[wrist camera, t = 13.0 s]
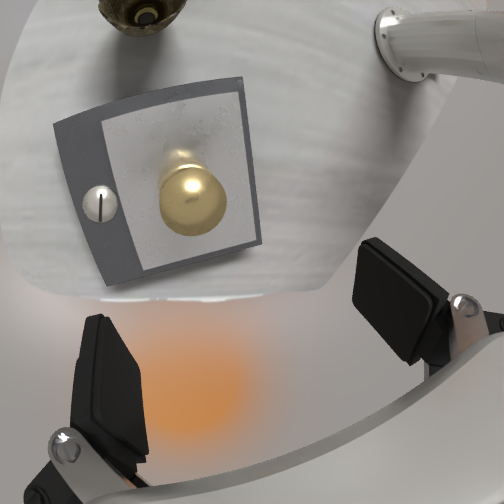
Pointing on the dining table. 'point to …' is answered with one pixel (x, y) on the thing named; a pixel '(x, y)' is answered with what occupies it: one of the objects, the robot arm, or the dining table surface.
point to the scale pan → (172, 148)
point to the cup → (135, 4)
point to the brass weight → (190, 197)
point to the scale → (104, 187)
